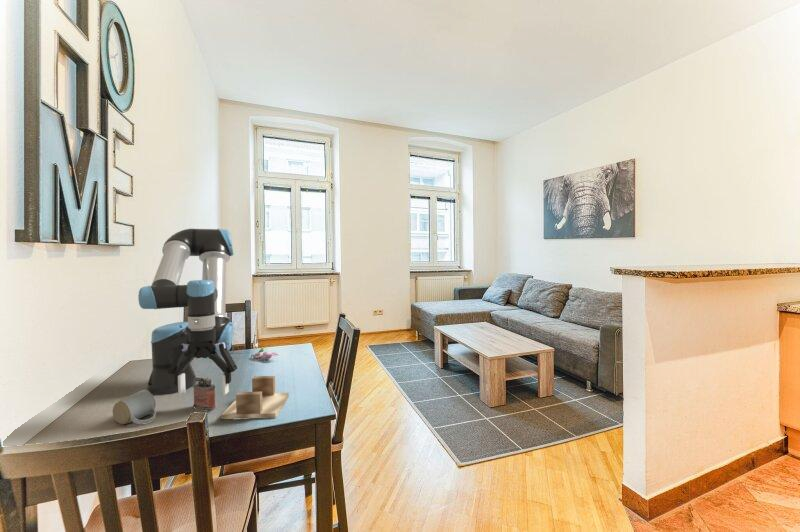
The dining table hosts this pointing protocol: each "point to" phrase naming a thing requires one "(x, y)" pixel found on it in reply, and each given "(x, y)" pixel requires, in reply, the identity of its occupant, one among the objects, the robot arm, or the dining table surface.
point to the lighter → (204, 394)
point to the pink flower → (264, 354)
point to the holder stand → (257, 401)
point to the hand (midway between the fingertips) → (204, 394)
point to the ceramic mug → (135, 408)
